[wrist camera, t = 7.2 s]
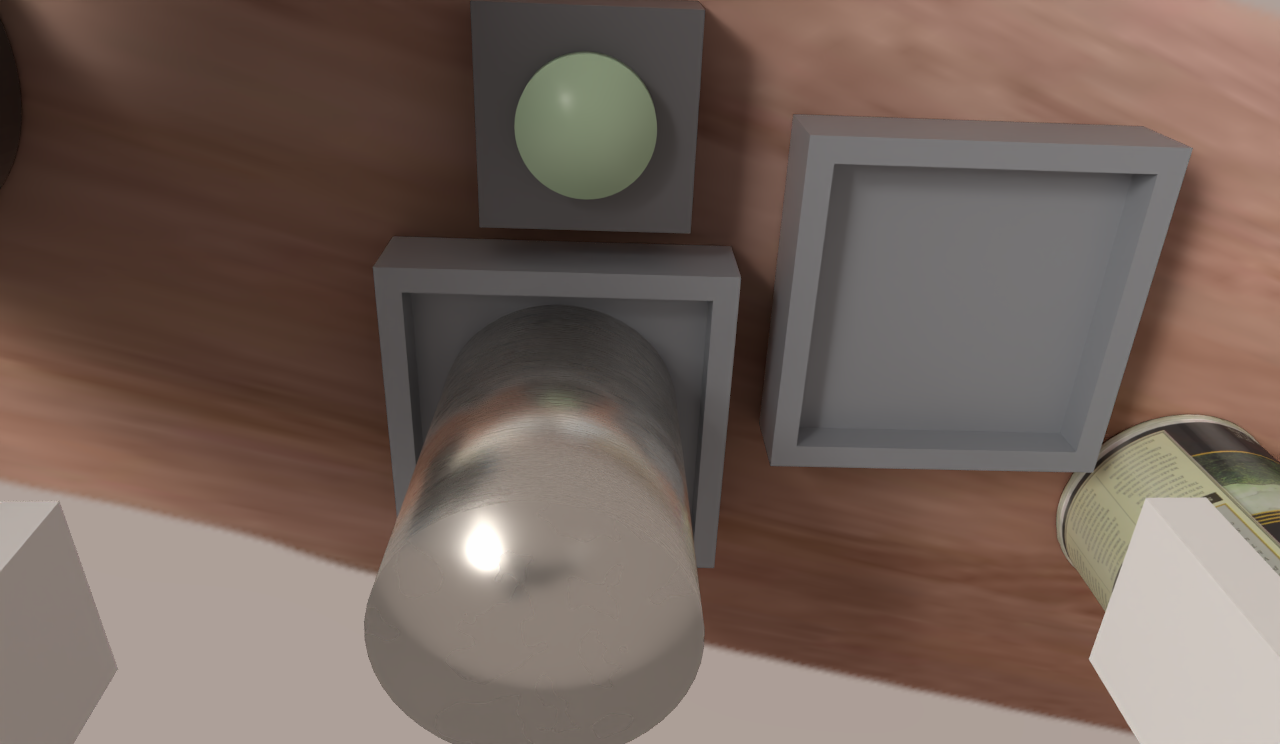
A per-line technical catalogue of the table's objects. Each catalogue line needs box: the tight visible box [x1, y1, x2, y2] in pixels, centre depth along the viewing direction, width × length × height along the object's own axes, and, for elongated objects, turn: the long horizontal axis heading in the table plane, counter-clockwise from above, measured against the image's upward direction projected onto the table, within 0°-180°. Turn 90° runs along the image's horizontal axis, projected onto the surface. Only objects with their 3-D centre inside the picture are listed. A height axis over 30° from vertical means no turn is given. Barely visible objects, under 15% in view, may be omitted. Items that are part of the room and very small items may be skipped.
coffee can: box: [1056, 414, 1280, 612], centre depth 39 cm, size 10×10×14 cm
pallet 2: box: [759, 114, 1193, 473], centre depth 38 cm, size 14×14×4 cm
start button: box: [470, 0, 705, 234], centre depth 35 cm, size 8×8×4 cm
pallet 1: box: [373, 236, 741, 568], centre depth 40 cm, size 14×14×4 cm
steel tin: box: [364, 305, 704, 744], centre depth 34 cm, size 10×10×14 cm
